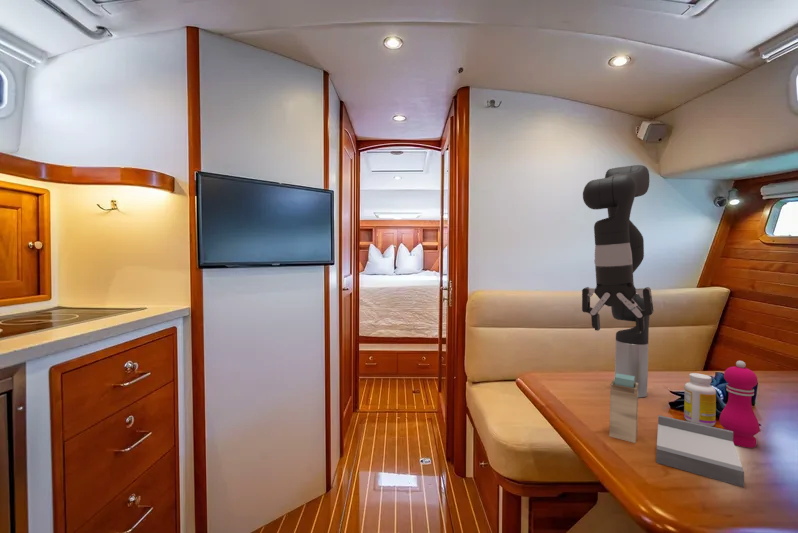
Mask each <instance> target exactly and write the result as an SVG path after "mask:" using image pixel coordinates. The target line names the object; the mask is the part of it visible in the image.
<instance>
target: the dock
mask: <svg viewBox="0 0 798 533" xmlns="http://www.w3.org/2000/svg"><path fill="white" fill-rule="evenodd" d="M656 434H657V436H656V453H655V454H656V456H655V458H656V459H655V462H656V464H660V465H663V466H667V467H671V468H674V469H678V470H682V471H685V472H688V473H693V474H695V475H698V476H699V475H700V476H702V477H706V478H708V479H713V480H716V481H720V482H723V483H728V484H731V485H733V486H738V487H742V488H744V487H745V486H744V485H745V470H744V467H743V465H742V463H741V459H740V458H739V454H738V451H737V448H736V447H735V446H736V445H734V443H733V431H729V430H725V429H724V428H719V427H715V426H706V425H702V424H697V423H693V422H689V421H687V420H683V419H677V418H673V417H669V416H665V415H659V414H658V416H657V433H656Z"/></svg>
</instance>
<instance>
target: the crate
mask: <svg viewBox="0 0 798 533" xmlns="http://www.w3.org/2000/svg"><path fill="white" fill-rule="evenodd" d="M614 383H615V378H612V380H611V383H610V396H609V399H610V400H609V402H610V403H609V434H608V436H609V437H610V438H613V439H614V438H615V439H618V440H622V441H626V442H629V443H633V444H636V443H637V438H638V437H637V436H638V415H639V414H638V412H639V409H638V408H639V405H638V404H639V402H638V401H639V397H638V383H635V387H634V388H630V387H625V386H619V385H614Z"/></svg>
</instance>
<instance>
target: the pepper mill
mask: <svg viewBox="0 0 798 533" xmlns="http://www.w3.org/2000/svg"><path fill="white" fill-rule="evenodd" d="M746 364H747V363H746V362H744V361H743V360H737V361H736V362H735V365H736V366H730V367H727V368H726V369H725V370H724V372H723V378H724V380H725V381H726V383H727V384H726V391H727V392H728V398H727V402H726V404H725V406H724V408H723V410H722V411H721V412H720V414H719V419H718V420H719V424H720V425H721V427H722V429H725V430H729V431H733V443H734V445H735V446H738V447H742V448H750V449H753V448H756V446H757V438H756V437H755V436H756V435H757V434H758V433H760V430H761V429H760V423H759V420H758V418H757V416H756V414H755V412H754V409H753V404H752V397H753V396H754V395H755V389H754V387H756V386H757V384H758V381H759V380H758V377H757V374H756V373H755V372H754V371H753V370H751V369H750V368H747V367H746Z"/></svg>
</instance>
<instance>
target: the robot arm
mask: <svg viewBox="0 0 798 533" xmlns="http://www.w3.org/2000/svg"><path fill="white" fill-rule="evenodd" d="M649 187H650V171H649V169H648V168H647V166H645V165H641V164H634V165H626V166H621V167H620V166H619V167H613V168H609V169H607V170H606V172H605V176H604V178H598V179H593V180H590V181H588V182H587V183H586V184H585V186H584V188H583V191H582V200H583V203H584V204H585V206H586V207H587V208H589V209H591V210H604V209H607V215H608V217H606V218H602V219H599V220H597V221H596V222H594V225H593V233H594V246H595V247H594V266H595V283H596V286H595V287H594V288H593V287H589V286H586V287H584V288H582V290H581V312H583V313H587V314H589V315H590V316H591V318H590V319H591V327H592V328H593V329H594V331H596V332H597V331H600V330H601V318H600V314H599V312H600V311H601V309H603V307H604V306H607V307H610V308H611V309H610V310H611V314H612V317H613V318H614V319H615V320H617V321H618V320H619V321H626V322H635V326H633V327H630V328H627V329H622V330H621V329H620V330H618V331H616V333H615V352H614V353H615V357H614V358H615V359H614V367H615V368H614V376H615V375H616V373H618V374H624V375H630V376H635V383H638V398H646V397H647V396H648V380H649V379H648V377H649V371H648V370H649V329H650V316H651V315H652V314H653V313H654V304H653V296H652V288H650V287H649V286H647V287H644V288H636V287H635V284H634V283H635V282H634V273H635V272H636V270H637V269H638V268H639V267H640V266H641V264H642V261H644V258H645V249H644V248H645V245H644V244H645V243H644V239H645V238H644V236H643V233H642V232H641V231H640V230H639V229H638V227H637V226H636V225H635V224H634V223H633V221H631V220H630V217H631V214H632V212H631V211H632V207H633V204H634V201H635V198H637V197H641V196H644V195H646V193H648V190H649ZM594 294H595V295H596V296H597V298H598V299H599V300H598V301H597V302H596V304H595V305H594V306H593V307H591V298H592V297H593V296H594Z"/></svg>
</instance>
